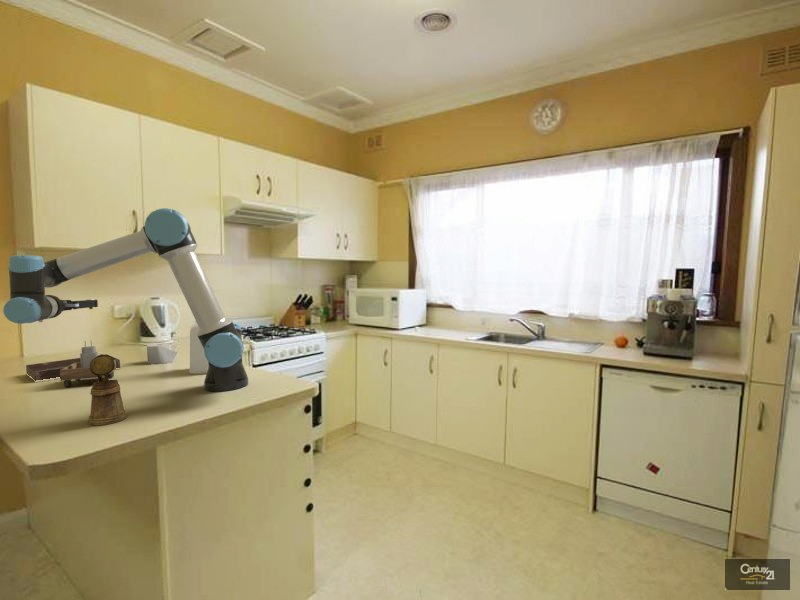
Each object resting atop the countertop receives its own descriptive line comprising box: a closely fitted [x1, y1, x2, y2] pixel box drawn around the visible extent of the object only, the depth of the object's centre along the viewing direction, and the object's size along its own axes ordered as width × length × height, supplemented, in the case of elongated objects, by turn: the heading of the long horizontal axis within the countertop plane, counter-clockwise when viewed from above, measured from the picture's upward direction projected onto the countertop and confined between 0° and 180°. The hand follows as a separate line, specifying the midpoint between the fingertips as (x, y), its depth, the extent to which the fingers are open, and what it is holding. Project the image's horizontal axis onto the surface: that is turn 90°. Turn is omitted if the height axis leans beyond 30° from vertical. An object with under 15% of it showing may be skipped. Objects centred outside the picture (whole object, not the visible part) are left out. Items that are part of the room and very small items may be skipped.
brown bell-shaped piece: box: [88, 353, 128, 426], centre depth 121 cm, size 9×14×18 cm, turn 40°
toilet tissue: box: [146, 342, 178, 365], centre depth 199 cm, size 9×13×9 cm
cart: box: [59, 360, 117, 388], centre depth 163 cm, size 14×14×7 cm
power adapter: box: [79, 340, 98, 368], centre depth 163 cm, size 3×5×12 cm, turn 126°
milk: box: [189, 320, 209, 374], centre depth 180 cm, size 12×12×26 cm
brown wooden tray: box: [25, 353, 121, 381], centre depth 181 cm, size 29×19×5 cm, turn 140°
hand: (71, 303), depth 149 cm, fingers open, 13 cm apart
